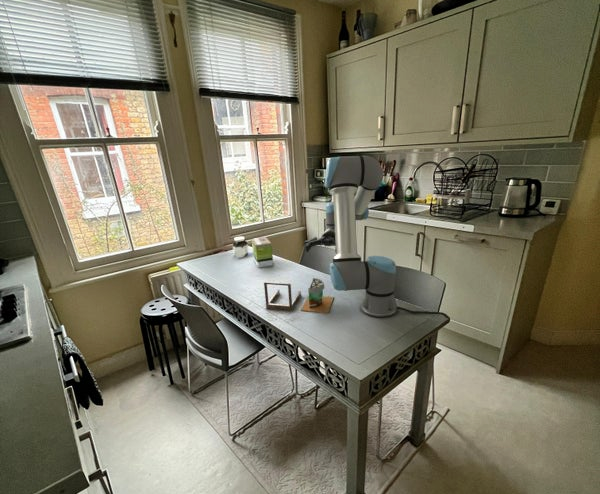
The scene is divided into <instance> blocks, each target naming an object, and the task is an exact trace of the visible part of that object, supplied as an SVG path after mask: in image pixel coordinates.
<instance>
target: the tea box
mask: <svg viewBox="0 0 600 494" xmlns="http://www.w3.org/2000/svg"><path fill="white" fill-rule="evenodd" d="M251 246H252V254H253V260H254V263H255V264H256V266H257V268H264V267H271V266H274V256H273V246H272V242H271V241H270V239H268V237H267V236H263V237H256V238H251Z"/></svg>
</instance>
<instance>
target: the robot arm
mask: <svg viewBox="0 0 600 494" xmlns="http://www.w3.org/2000/svg"><path fill="white" fill-rule="evenodd" d="M324 178H325V179H324V186H325V188H326V189H328V193H329V194H330V195H331V196H332V199H333V202H328V203H327V204H326V206H325V231H324V232H323V234H322V235H321V237H319V238H318V237H317V236H314V237H313V238H311V239H307V240H305V241H304V242H303V246H304V248H305V252H307V253H309V252H310V250H311V249H312V247H316V246H326V247H335V249H334V250H335V255H334V256H333V258H332V262H330V263H329V265H328V268H329V275H330V281H331V285H332V287H333V289H334V290H336V291H339V292H342V291H344V292H347V291H358V290H365V293H364V295H363V298H362V299H361V303H360V310H361V312H362V313H363V314H365V315H367V316H369V317H373V318H389V317H392V316H394V315H395V314H396V313H397V311H398V310H401V311H403V312H407V313H410V314H420V315H421V314H422V315H423V314H424V315H425V314H427V315H441V316H443V317H445V318H446V319H450V316H449V315H448V314H447V313H444V312H441V311H430V310H429V311H427V310H411V309H408V308H405V307H401V306H398V304H397V301H396V298H395V285H396V284H395V282H396V275H397V264H396V262H395V261H394V260H393V259H392V258H389V257H386V256H382V255H370V256H368V257H367V258H366V260H365V261H364V260H363V261H362V256H361V255H360V254H359V253H358V243H357V221H364V220H367V219H368V218H369V215H370V214H369V213H370V211H369V204H370V202H371V200H372V199H373V196H374V194H375V192H376V191H377V190H378V189H379V188H380V186H381V185H382V183H383V179H384V171H383V167H382V166H381V164H380V163H379V161H378V160H377V159H376V158H374V157H372V156H370V155H349V156H334V157H329V159H328V160H327V162H326V168H325V177H324Z"/></svg>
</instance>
